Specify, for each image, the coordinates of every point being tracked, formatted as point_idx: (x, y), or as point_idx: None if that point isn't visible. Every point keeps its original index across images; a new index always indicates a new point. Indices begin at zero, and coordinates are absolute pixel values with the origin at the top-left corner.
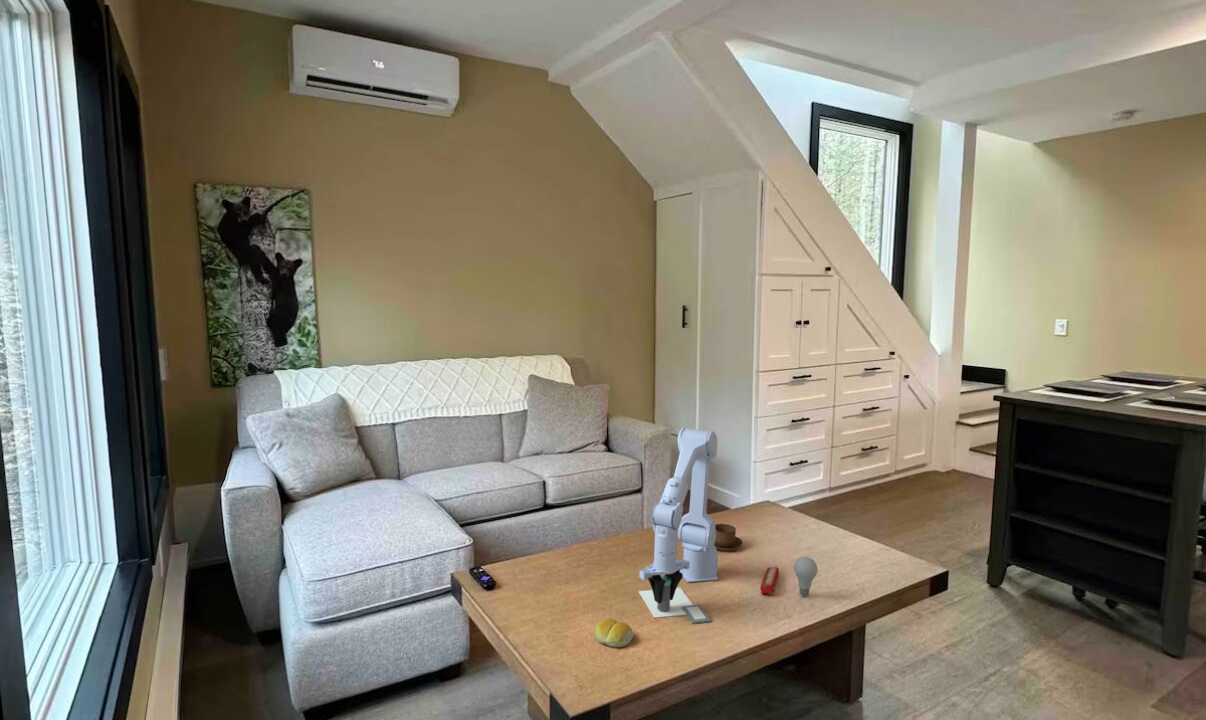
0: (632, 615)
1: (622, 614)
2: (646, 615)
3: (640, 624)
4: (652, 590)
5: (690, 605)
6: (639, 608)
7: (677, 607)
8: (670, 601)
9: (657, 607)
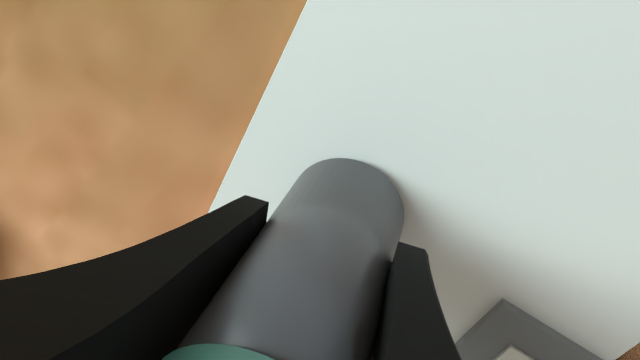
0: (84, 75)
1: (20, 3)
2: (178, 154)
3: (77, 197)
4: (164, 234)
5: (577, 353)
6: (196, 31)
7: (472, 275)
8: (530, 170)
9: (295, 182)
